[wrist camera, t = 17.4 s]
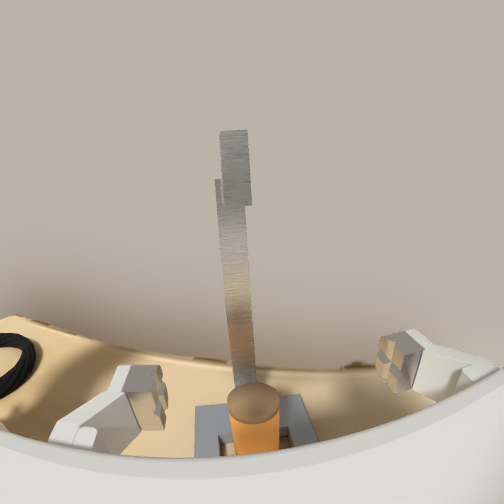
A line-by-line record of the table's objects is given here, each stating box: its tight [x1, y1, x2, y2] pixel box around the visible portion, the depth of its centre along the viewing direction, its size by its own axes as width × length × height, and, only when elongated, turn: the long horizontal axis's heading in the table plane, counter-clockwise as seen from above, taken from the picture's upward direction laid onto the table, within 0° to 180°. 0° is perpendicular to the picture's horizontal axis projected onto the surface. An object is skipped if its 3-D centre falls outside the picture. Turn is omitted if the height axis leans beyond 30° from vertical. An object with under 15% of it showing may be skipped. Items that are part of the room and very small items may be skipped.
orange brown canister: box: [227, 383, 279, 455], centre depth 28 cm, size 5×5×12 cm
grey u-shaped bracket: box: [194, 394, 318, 458], centre depth 32 cm, size 15×14×2 cm
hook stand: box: [215, 130, 257, 388], centre depth 31 cm, size 3×14×36 cm, turn 7°
